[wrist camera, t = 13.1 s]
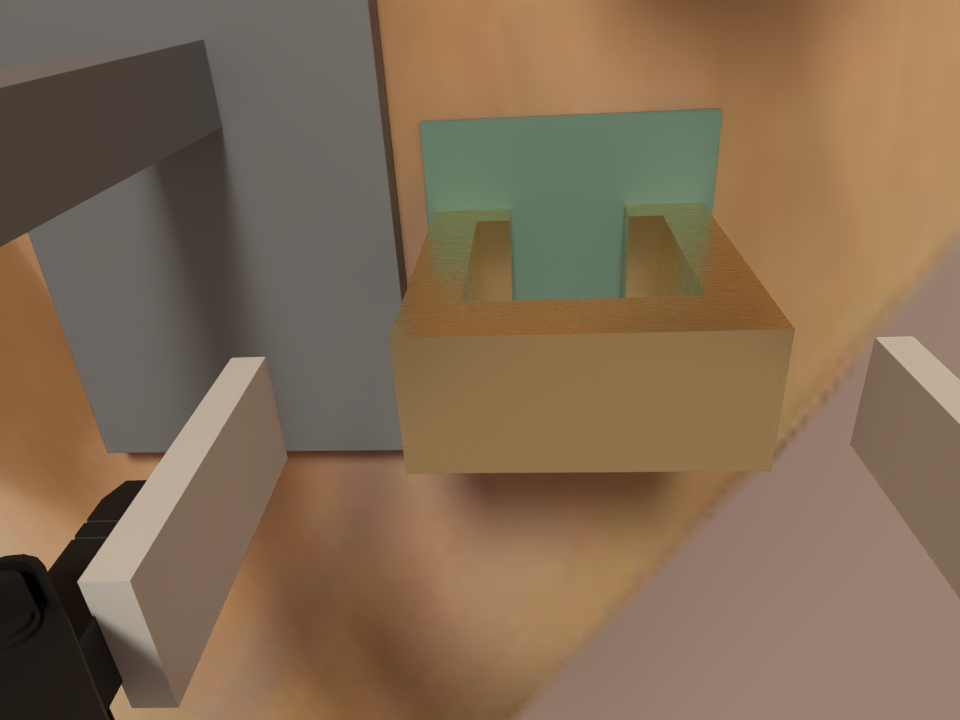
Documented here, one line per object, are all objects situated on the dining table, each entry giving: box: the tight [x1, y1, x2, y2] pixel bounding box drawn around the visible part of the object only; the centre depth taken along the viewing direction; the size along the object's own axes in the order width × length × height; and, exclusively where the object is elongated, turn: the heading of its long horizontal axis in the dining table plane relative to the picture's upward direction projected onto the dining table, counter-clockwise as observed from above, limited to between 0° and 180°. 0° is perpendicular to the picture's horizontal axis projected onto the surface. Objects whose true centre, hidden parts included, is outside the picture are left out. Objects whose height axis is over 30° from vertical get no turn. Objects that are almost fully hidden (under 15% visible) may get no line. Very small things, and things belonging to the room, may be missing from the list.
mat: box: [420, 108, 722, 300], centre depth 24 cm, size 9×9×1 cm
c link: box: [389, 202, 795, 474], centre depth 20 cm, size 8×4×9 cm, turn 93°
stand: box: [0, 0, 407, 453], centre depth 17 cm, size 12×16×18 cm
